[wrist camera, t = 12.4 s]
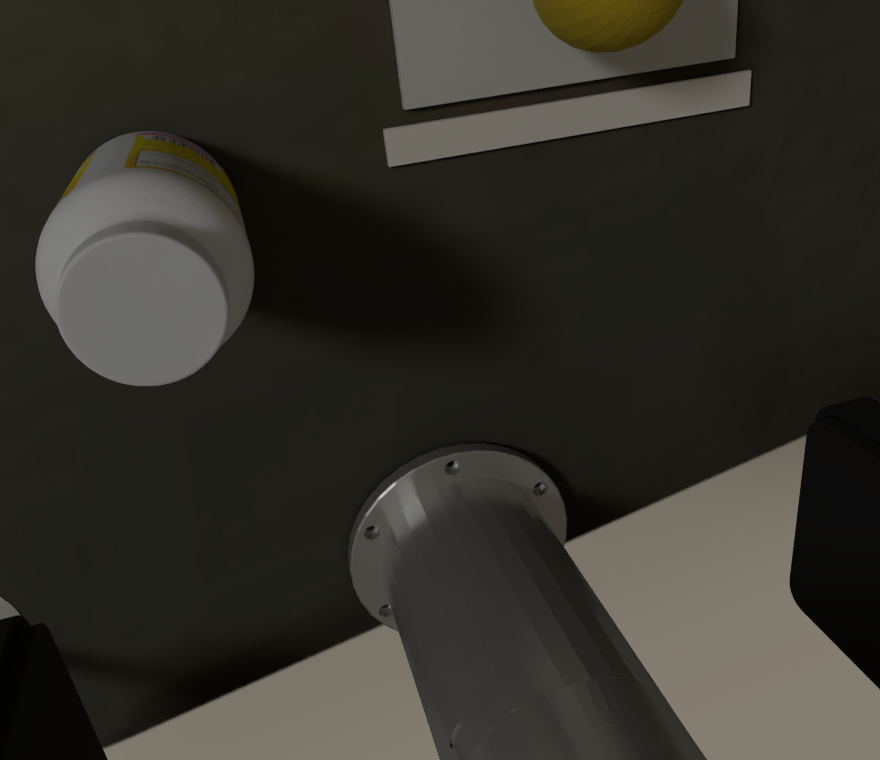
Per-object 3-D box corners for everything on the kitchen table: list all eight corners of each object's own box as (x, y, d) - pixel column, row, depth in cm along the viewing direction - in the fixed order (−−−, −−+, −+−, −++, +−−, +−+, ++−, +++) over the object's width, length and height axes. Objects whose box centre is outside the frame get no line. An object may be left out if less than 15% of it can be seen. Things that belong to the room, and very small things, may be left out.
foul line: (745, 104, 39) (749, 105, 39) (387, 165, 36) (389, 167, 35) (747, 70, 38) (751, 70, 38) (382, 128, 35) (384, 130, 35)
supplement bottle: (116, 305, 35) (80, 449, 24) (42, 158, 32) (-40, 244, 21) (262, 255, 36) (294, 372, 25) (204, 106, 33) (210, 163, 21)
